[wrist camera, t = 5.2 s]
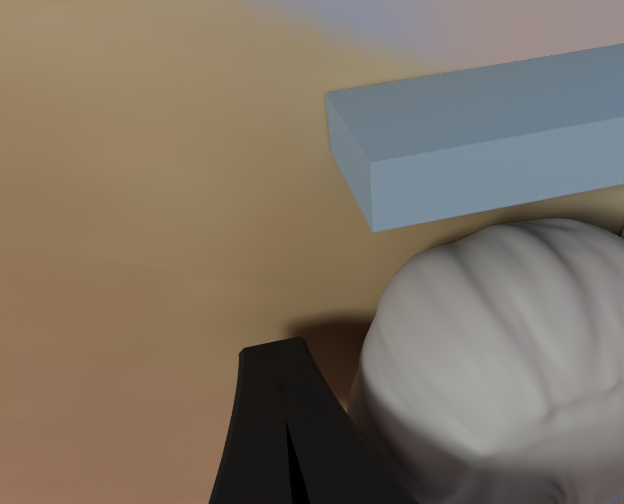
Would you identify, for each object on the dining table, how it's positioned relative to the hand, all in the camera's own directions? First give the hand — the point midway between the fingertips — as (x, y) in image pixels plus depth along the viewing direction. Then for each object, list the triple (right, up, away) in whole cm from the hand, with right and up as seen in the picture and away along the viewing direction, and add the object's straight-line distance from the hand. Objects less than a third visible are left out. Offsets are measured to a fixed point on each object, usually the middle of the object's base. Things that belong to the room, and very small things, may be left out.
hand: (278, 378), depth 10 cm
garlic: (+4, +2, +1) cm, 4 cm away
